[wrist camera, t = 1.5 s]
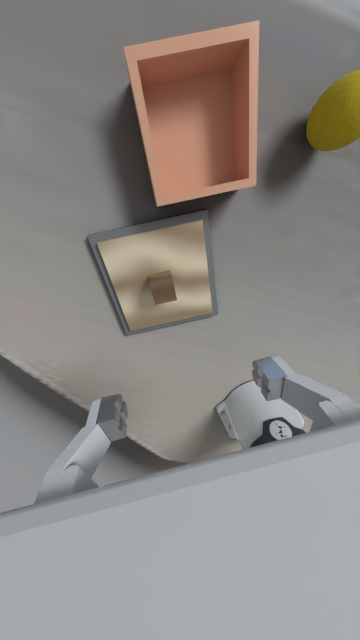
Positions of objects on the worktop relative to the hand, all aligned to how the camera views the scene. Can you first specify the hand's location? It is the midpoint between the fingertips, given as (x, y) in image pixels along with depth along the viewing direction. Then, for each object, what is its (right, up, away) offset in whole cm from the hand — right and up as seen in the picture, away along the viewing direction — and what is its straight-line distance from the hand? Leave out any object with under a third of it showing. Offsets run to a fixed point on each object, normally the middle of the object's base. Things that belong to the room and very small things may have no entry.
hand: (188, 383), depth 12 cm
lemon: (+16, +27, +12) cm, 33 cm away
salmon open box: (+1, +24, +11) cm, 27 cm away
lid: (-3, +10, +17) cm, 20 cm away
